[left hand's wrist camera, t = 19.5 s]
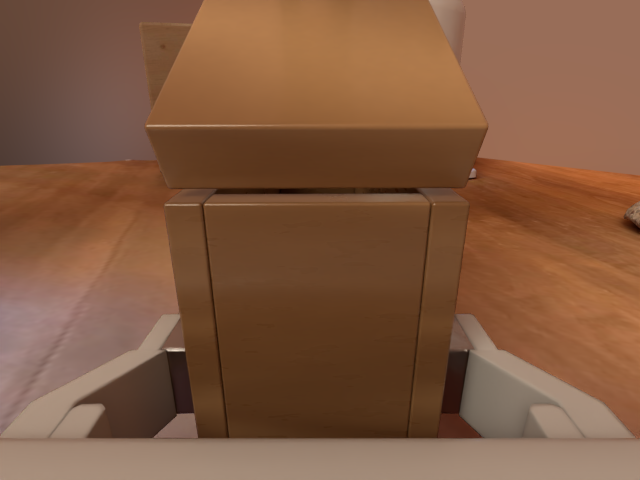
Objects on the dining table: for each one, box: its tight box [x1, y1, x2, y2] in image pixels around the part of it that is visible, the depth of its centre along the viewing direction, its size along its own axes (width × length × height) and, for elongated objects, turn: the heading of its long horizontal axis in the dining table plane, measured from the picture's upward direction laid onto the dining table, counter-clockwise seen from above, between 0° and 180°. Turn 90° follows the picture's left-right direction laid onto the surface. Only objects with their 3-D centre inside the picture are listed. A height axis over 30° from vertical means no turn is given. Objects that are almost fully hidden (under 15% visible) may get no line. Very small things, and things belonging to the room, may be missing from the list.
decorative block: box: [139, 22, 192, 173], centre depth 58 cm, size 11×6×20 cm, turn 104°
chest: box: [164, 188, 470, 438], centre depth 15 cm, size 14×5×10 cm, turn 0°
